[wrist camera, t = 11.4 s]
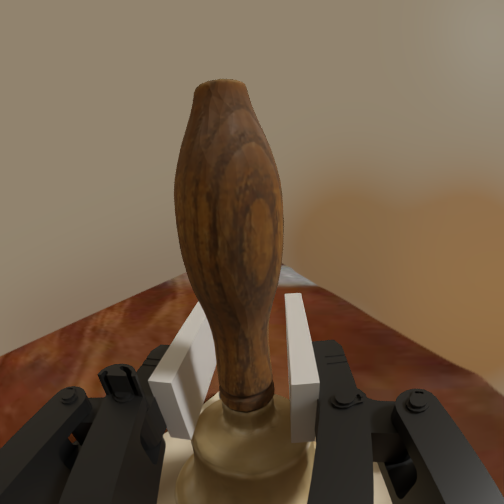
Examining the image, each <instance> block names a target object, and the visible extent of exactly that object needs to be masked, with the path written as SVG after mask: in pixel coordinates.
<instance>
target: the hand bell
mask: <svg viewBox="0 0 504 504" xmlns="http://www.w3.org/2000/svg"><path fill="white" fill-rule="evenodd" d="M174 202H175V215H176V224H177V231H178V237H179V243H180V249H181V254H182V258H183V262H184V265H185V268H186V272H187V275H188V278H189V281H190V283H191V286H192V288H193V291H194V293H195V295H196V297H197V299H198V301H199V303H200V305H201V307H202V309H203V311H204V313H205V315H206V318H207V320H208V323H209V326H210V329H211V332H212V336H213V340H214V346H215V355H216V363H217V371H218V379H219V384H220V386H219V391H220V398H221V399H220V400H217V401H215V402H214V403H212V404H211V405H209V406H208V407H207V408H206V409H204V410H203V412H202V413H201V414H200V415H199V418H198V421H197V424H196V427H195V430H194V433H193V436H192V439H191V444H192V447H193V452H194V453H193V454H192V455H191V456H190V457H189V458H188V460H187V461H186V462H185V464H184V465H183V467H182V469H181V470H180V473H179V475H178V478H177V480H176V484H175V502H176V504H307V500H308V495H309V489H310V483H311V476H312V470H313V463H314V455H315V448H316V442H315V441H312V442H300V443H291V420H290V400H289V399H287V398H284V397H282V396H279V395H276V394H274V383H273V380H272V378H273V377H272V366H271V358H270V349H269V338H268V328H269V318H270V312H271V308H272V303H273V300H274V296H275V293H276V289H277V286H278V281H279V275H280V270H281V264H282V253H283V232H284V229H283V228H284V227H283V226H284V220H283V219H284V218H283V202H282V191H281V183H280V178H279V174H278V170H277V166H276V163H275V160H274V157H273V154H272V151H271V148H270V146H269V143H268V141H267V139H266V136H265V134H264V132H263V130H262V128H261V126H260V124H259V121H258V119H257V117H256V114H255V112H254V110H253V107H252V105H251V101H250V98H249V95H248V92H247V88H246V86H245V84H244V83H243V82H240V81H237V80H233V79H218V80H212V81H207V82H205V83H202V84H200V85H199V86H198V87H197V88H196V89H195V92H194V98H193V104H192V109H191V114H190V118H189V121H188V124H187V128H186V131H185V135H184V138H183V141H182V145H181V149H180V154H179V159H178V163H177V169H176V175H175V184H174Z"/></svg>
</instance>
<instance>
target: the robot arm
mask: <svg viewBox="0 0 504 504" xmlns="http://www.w3.org/2000/svg"><path fill="white" fill-rule="evenodd" d="M285 309H286V334H287V355H288V374H289V395H290V420H291V443H300V442H312V441H315V438H316V448H315V455H314V463H313V470H312V476H311V483H310V489H309V495H308V500H307V504H374V478H373V462H377V464H378V466H379V469H380V471H381V474H382V477H383V479H384V482H385V485H386V487H387V490H388V493H389V496H390V498H391V501H392V504H504V497H503V496H502V494H501V492H500V491H499V489H498V487H497V486H496V484H495V482H494V481H493V479H492V477H491V476H490V474H489V473H488V471H487V469H486V468H485V466H484V465H483V463H482V462H481V460H480V459H479V457H478V456H477V454H476V453H475V451H474V450H473V448H472V447H471V445H470V444H469V442H468V441H467V439H466V438H465V436H464V435H463V434H462V432H461V431H460V429H459V428H458V427H457V425H456V424H455V422H454V421H453V420H452V418H451V417H450V415H449V414H448V413H447V411H446V410H445V409H444V407H443V406H442V405H441V403H440V402H439V400H438V399H437V398H436V397H435V396H434V395H433V394H432V393H431V392H428V391H426V390H423V389H411V390H407V391H405V392H403V393H401V394H400V395H399V396H398V397H397V399H396V402H393V401H377V400H372V399H369V398H367V397H366V394H365V393H363V392H362V391H361V390H360V389H357V387H356V384H355V381H354V378H353V376H352V373H351V370H350V367H349V365H348V363H347V359H346V357H345V354H344V351H343V349H342V346H341V345H340V344H338V343H337V342H336V341H335V340H326V341H315V342H312V341H311V337H310V332H309V327H308V323H307V318H306V314H305V309H304V305H303V301H302V296H301V293H293V294H285ZM216 364H217V363H216V355H215V346H214V340H213V336H212V332H211V329H210V326H209V323H208V320H207V318H206V315H205V313H204V311H203V309H202V307H201V305H200V303H199V301H198V303H197V304H196V306H195V307H194V309H193V311H192V312H191V314H190V315H189V317H188V318H187V320H186V321H185V323H184V324H183V326H182V328H181V329H180V331H179V332H178V334H177V335H176V337H175V338H174V340H173V342H172V343H171V345H160V346H158V347H157V348H155V349H154V350H152V351H151V353H150V354H149V355H148V357H147V360H145V361H144V362H143V364H142V366H141V367H140V368H139V369H138V371H137V372H136V371H135V369H134V368H133V367H132V366H130V365H127V364H114V365H111V366H108V367H106V368H104V369H103V370H101V371H100V372H99V374H98V377H99V379H100V381H101V384H102V386H103V388H104V390H105V393H106V396H105V397H104V398H88V397H87V395H86V393H85V391H84V390H83V389H82V388H80V387H75V386H72V387H67V388H64V389H62V390H61V391H59V392H58V393H57V394H56V395H54V396H53V397H52V398H51V399H50V400H49V401H48V402H47V403H46V404H45V405H44V406H43V407H42V408H41V409H40V410H39V411H38V412H37V413H36V414H35V415H34V416H33V417H32V418H31V419H30V420H29V421H28V422H27V423H26V424H25V425H24V426H23V427H22V428H21V429H20V430H19V431H18V432H17V433H16V434H15V435H14V436H13V437H12V438H11V439H10V440H9V441H8V442H7V443H6V444H5V445H4V446H3V447H2V448H1V449H0V504H157V498H158V491H159V485H160V478H161V472H162V466H163V460H164V454H165V448H166V443H165V440H164V438H163V434H164V432H165V430H166V428H167V430H168V432H169V434H170V437H172V438H179V439H187V440H191V439H192V436H193V433H194V430H195V427H196V424H197V421H198V418H199V415H200V412H201V409H202V406H203V403H204V400H205V397H206V394H207V391H208V388H209V385H210V382H211V379H212V376H213V373H214V370H215V367H216ZM71 433H72V434H73V436H74V437H75V438H76V441H75V442H74V443H71V442H70V441H69V439H68V437H69V435H70V434H71Z"/></svg>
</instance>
